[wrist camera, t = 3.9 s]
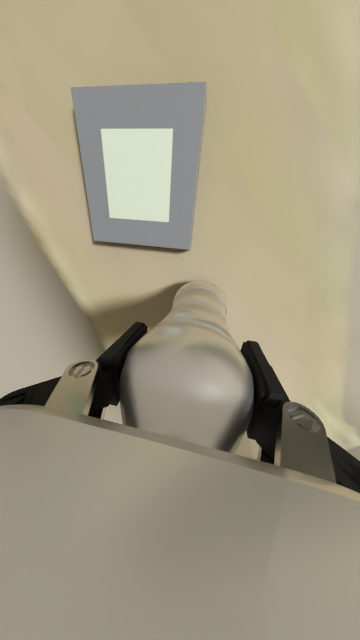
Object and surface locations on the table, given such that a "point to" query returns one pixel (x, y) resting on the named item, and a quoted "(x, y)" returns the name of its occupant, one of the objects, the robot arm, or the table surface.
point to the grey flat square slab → (141, 160)
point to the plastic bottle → (189, 374)
